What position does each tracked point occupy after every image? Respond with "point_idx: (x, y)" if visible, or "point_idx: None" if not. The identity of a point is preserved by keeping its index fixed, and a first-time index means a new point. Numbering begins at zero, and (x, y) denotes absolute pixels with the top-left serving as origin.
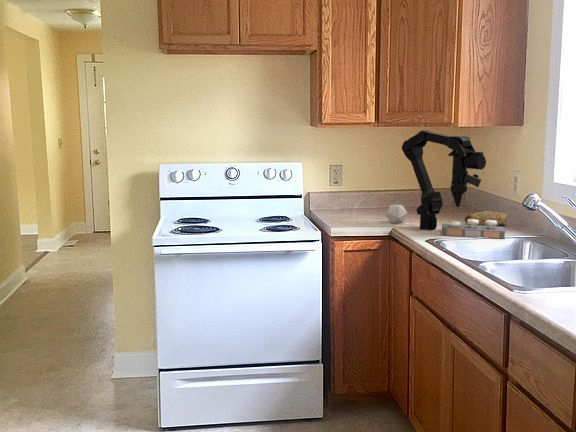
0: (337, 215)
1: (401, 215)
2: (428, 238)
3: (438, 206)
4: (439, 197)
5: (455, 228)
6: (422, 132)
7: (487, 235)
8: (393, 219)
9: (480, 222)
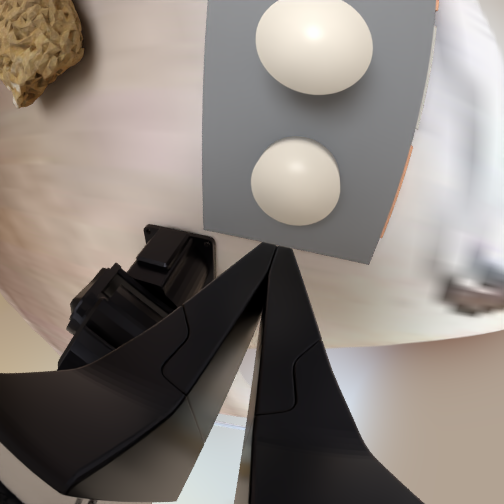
0: None
1: None
2: (426, 299)
3: (143, 322)
4: (90, 361)
5: (383, 188)
6: None
7: None
8: None
9: (69, 16)
